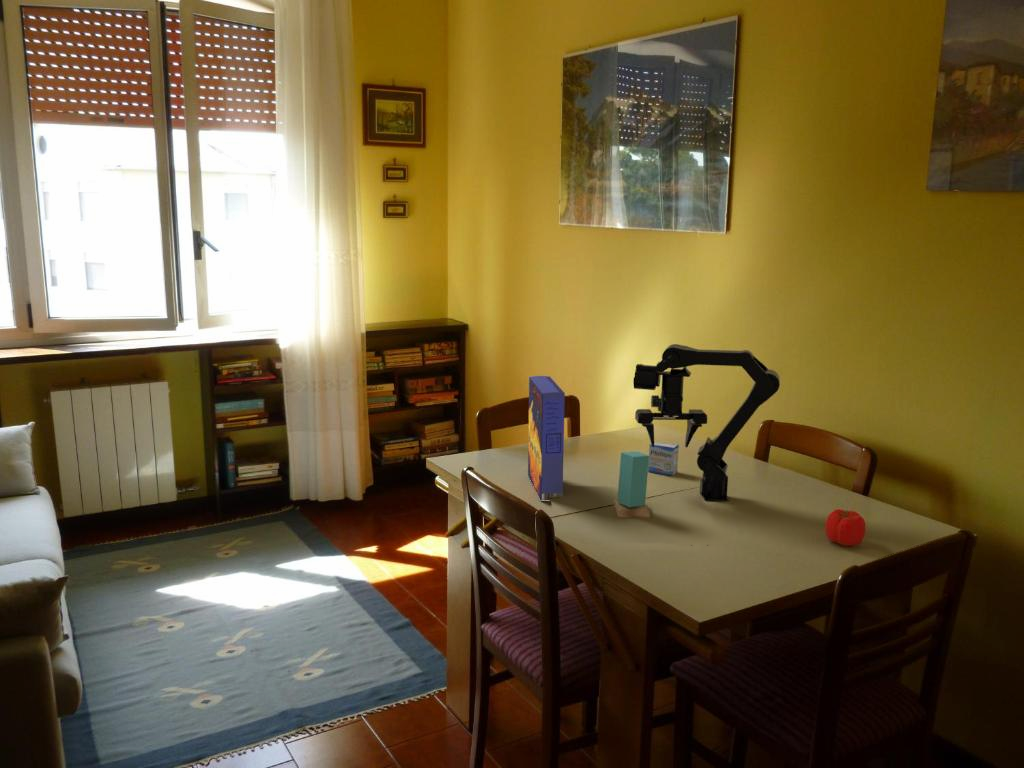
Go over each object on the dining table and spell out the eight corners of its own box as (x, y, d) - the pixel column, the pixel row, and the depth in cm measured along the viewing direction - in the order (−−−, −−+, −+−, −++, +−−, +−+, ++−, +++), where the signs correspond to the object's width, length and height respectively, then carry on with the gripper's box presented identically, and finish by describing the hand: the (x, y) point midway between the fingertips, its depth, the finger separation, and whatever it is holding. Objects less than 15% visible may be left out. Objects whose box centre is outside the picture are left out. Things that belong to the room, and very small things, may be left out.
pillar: (632, 500, 219) (636, 451, 217) (644, 505, 215) (649, 455, 213) (617, 502, 217) (621, 452, 215) (629, 507, 212) (633, 457, 211)
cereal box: (528, 476, 248) (529, 375, 242) (548, 475, 249) (549, 375, 242) (540, 501, 227) (542, 392, 220) (562, 500, 228) (564, 391, 221)
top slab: (644, 506, 220) (645, 499, 220) (649, 517, 213) (650, 510, 212) (614, 506, 220) (614, 499, 220) (618, 517, 212) (618, 510, 212)
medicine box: (647, 472, 253) (648, 444, 251) (652, 468, 256) (653, 440, 255) (673, 476, 249) (674, 447, 247) (677, 472, 253) (679, 444, 251)
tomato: (824, 533, 206) (827, 504, 205) (863, 539, 203) (866, 509, 201) (823, 547, 198) (826, 517, 196) (864, 553, 194) (867, 522, 193)
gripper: (699, 385, 237) (696, 439, 240) (633, 385, 237) (631, 438, 240) (709, 394, 226) (706, 450, 230) (639, 393, 226) (637, 449, 229)
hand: (669, 446), depth 232 cm, fingers open, 9 cm apart
